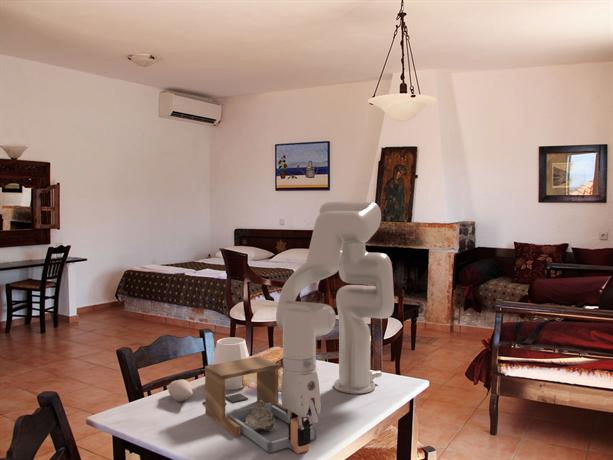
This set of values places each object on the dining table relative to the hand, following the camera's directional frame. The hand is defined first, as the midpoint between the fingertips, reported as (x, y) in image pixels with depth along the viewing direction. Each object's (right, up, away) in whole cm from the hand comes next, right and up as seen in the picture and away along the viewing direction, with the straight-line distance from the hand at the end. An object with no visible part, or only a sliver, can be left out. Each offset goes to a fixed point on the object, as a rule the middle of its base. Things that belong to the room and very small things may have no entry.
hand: (299, 441), depth 127 cm
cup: (-22, 0, +46) cm, 51 cm away
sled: (-6, -1, +9) cm, 11 cm away
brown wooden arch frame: (-16, -1, +23) cm, 28 cm away
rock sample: (-11, -2, +12) cm, 16 cm away
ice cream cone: (-34, -1, +31) cm, 46 cm away
